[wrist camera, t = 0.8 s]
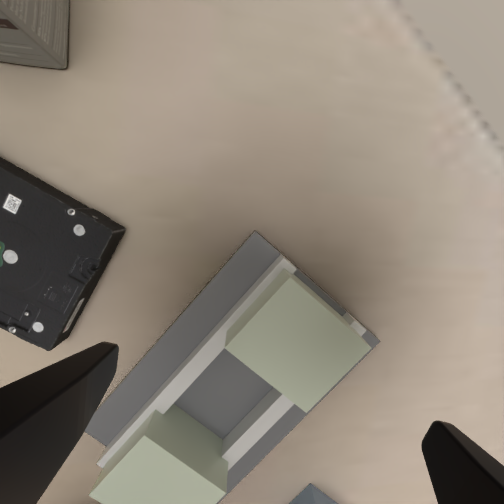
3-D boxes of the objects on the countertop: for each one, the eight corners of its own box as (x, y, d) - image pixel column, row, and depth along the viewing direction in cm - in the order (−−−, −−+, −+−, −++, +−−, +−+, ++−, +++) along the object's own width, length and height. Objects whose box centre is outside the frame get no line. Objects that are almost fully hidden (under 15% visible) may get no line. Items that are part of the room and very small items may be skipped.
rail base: (207, 505, 25) (199, 574, 21) (86, 421, 24) (46, 475, 19) (375, 336, 23) (409, 370, 18) (254, 230, 21) (258, 237, 17)
